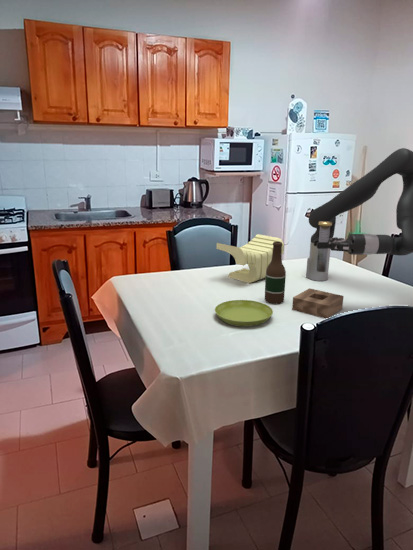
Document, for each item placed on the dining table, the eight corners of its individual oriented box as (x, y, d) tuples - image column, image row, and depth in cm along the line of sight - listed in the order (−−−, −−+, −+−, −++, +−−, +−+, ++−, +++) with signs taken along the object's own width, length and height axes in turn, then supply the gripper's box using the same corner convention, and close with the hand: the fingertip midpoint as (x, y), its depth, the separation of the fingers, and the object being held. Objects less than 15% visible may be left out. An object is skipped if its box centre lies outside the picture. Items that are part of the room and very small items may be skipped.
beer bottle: (285, 299, 168) (289, 240, 161) (282, 305, 161) (286, 245, 154) (266, 296, 170) (269, 239, 163) (262, 303, 163) (265, 243, 156)
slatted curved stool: (242, 288, 181) (244, 248, 175) (216, 280, 191) (216, 242, 186) (282, 274, 201) (284, 238, 196) (255, 268, 212) (257, 234, 207)
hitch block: (292, 309, 157) (293, 297, 155) (308, 300, 167) (309, 288, 166) (327, 319, 148) (328, 305, 147) (342, 308, 159) (343, 295, 157)
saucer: (230, 304, 163) (231, 296, 162) (280, 314, 153) (281, 306, 152) (204, 321, 146) (204, 313, 145) (258, 334, 136) (258, 325, 135)
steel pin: (312, 270, 153) (316, 222, 148) (317, 268, 156) (321, 220, 151) (324, 273, 150) (328, 223, 145) (329, 270, 154) (334, 222, 149)
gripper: (356, 230, 157) (311, 230, 156) (371, 237, 143) (322, 237, 143) (354, 249, 159) (309, 249, 158) (369, 259, 145) (320, 259, 145)
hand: (315, 244), depth 150 cm, fingers closed on steel pin, 3 cm apart
